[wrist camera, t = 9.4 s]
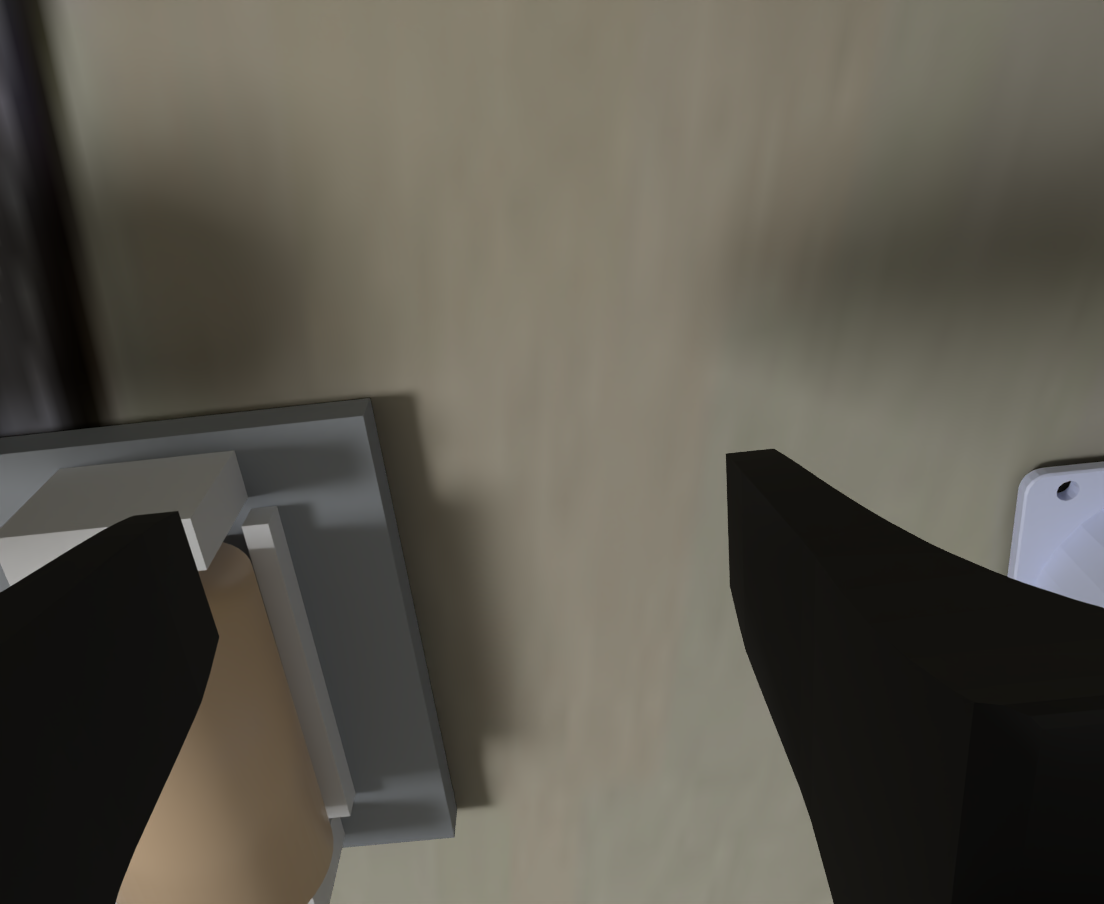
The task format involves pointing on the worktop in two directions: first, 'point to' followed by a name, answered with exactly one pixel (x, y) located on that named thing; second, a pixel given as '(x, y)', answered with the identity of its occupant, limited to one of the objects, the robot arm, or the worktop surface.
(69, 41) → the worktop surface
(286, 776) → the beige rounded cylinder
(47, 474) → the holder
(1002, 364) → the worktop surface
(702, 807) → the worktop surface
